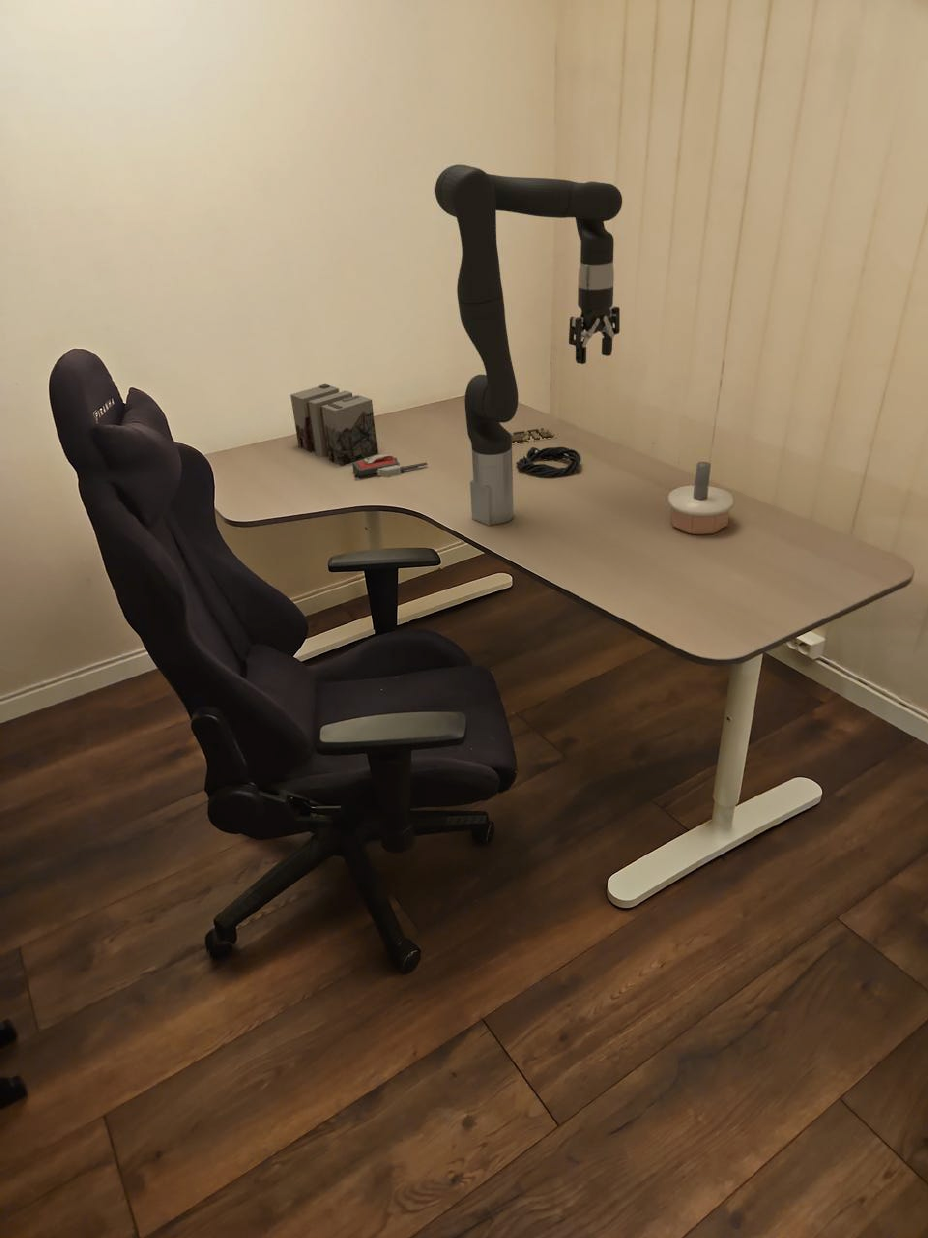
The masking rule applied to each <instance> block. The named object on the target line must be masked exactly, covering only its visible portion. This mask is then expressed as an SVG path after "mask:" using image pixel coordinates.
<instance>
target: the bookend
mask: <svg viewBox="0 0 928 1238" xmlns="http://www.w3.org/2000/svg"><path fill="white" fill-rule="evenodd" d="M289 397H290V403H291V409H292V414H293V416H292V417H293V420H294V428H295V433H296V434H295V435H296V438H297V439H296V440H297V446H298V448H300V447H301V448H300V449H305V448H306V449H305V450H306V451H307V452H309V453H312V451H313V452H315V454H316V456H318V457H320V458H324V459H325V458H328V460H329V462H331V463H336V464H338V466H341V467H345V466H347V465H350V464H352V463H356V462H360V461H361V460H362V461H363V460H364V459H368V458H370V457H374V456H375V455H379V450H378V442H377V441H378V439H377V431H376V423H375V413H374V404H373V399H372V398H369V397H366V396H363V395H359V394H358V395H356V394H355V395H353V392H351V391H348V390H342V391H340V388H339V387H336V386H333V385H330V384H327V383H322V384H319V385H318V386H314V387H311V388H308V389H305V390H301V391H298V392H294V393H291V394H290V395H289Z"/></svg>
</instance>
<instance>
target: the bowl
mask: <svg viewBox="0 0 928 1238" xmlns="http://www.w3.org/2000/svg"><path fill="white" fill-rule="evenodd" d="M729 513H730V510H728V511H727V512H725V513H722V514H719V515H714V516H693V515H687V514H683V513H680V512H678V511H676V510H674V509H672V508H671V507H670V515H669V518H670V521H671V525H672V527H673V528H676V529H678V530H680V531H682V532H685V533H689V534H692V535H693V534H694V535H707V534H714V533H717V532H718V531H721V530H722V529H724V528H726V527H727V526H728V524H729Z"/></svg>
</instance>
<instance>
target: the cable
mask: <svg viewBox="0 0 928 1238" xmlns="http://www.w3.org/2000/svg"><path fill="white" fill-rule="evenodd" d="M537 458H541V459H540V460H542V459H547V460H546V461H549V460H554V461H557V460H560V461H566V460H569V461H570V463H569V464H568V465H567V466H566V467H560V468H559V467H555V466H552V465H548V464H546V463H539V464H538V463H537V464H536V463H534V461H535V460H538V459H537ZM532 461H533V462H532ZM580 465H581V455H580V453H579V451H577V450H576V449H572V448H569V447H566V446H554V447H553V446H551V447H549V446H548V447H544V448H542V449H539V448H538V447H535V446H532V447H531V448H529V450H528V451H527V454H524V455H523V457H522V458H521V459H519V461H516V467H517V470H518V471H522V472H524V473H531V474H532V475H535V476H537V477H541V478H542V477H543V478H545V477H549V476H551V478H556V477H563V476H564V475H565V476H568V475H570V474H571V475H575V474H576V473H577V472H578V471H579V470H580Z"/></svg>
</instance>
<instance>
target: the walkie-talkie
mask: <svg viewBox="0 0 928 1238" xmlns="http://www.w3.org/2000/svg"><path fill="white" fill-rule="evenodd" d="M351 464H352V473H353V474H354V478H355V479H359V480H362V479H369V478H374V477H380V478H381V477H383V478H387V477H393V476H397V475H399V474H400V475H402V472H403V473H404V472H405V471H409V470H410V471H411V470H415V469H418V468H420V467H425V466H428V462H427V461H425V462H421V463H420V462H419V463H417V464H416V463H415V464H410V465H406V466H400V461H399V460H398V458H397V457H394V456H393V455H391V454H389V453H388V452H387V453H386V452H385V453H382V454H376V455H373V456H372V457H371V458H370V459H368V458H364V459H363V460H362V461H361V460H360V461H356V462H353V463H351Z"/></svg>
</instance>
